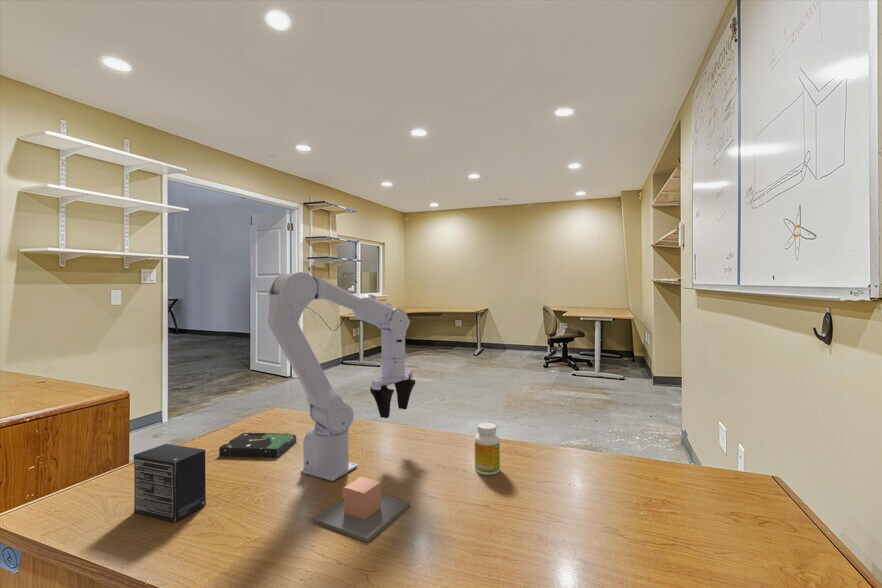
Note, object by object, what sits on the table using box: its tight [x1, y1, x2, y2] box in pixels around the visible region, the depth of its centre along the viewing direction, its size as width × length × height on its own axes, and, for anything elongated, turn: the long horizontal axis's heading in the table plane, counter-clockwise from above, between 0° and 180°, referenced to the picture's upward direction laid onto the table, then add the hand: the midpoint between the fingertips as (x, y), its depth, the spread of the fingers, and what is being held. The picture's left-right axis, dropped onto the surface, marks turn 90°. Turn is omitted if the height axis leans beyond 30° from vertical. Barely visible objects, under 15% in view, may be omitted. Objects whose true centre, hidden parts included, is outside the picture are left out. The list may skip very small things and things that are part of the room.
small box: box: [133, 443, 207, 523], centre depth 72 cm, size 11×6×10 cm, turn 71°
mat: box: [311, 493, 411, 543], centre depth 70 cm, size 12×12×1 cm
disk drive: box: [218, 432, 297, 459], centre depth 100 cm, size 10×3×15 cm
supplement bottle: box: [474, 422, 501, 476], centre depth 87 cm, size 5×5×10 cm
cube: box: [343, 476, 382, 520], centre depth 70 cm, size 4×4×4 cm
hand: (393, 412), depth 97 cm, fingers open, 7 cm apart
